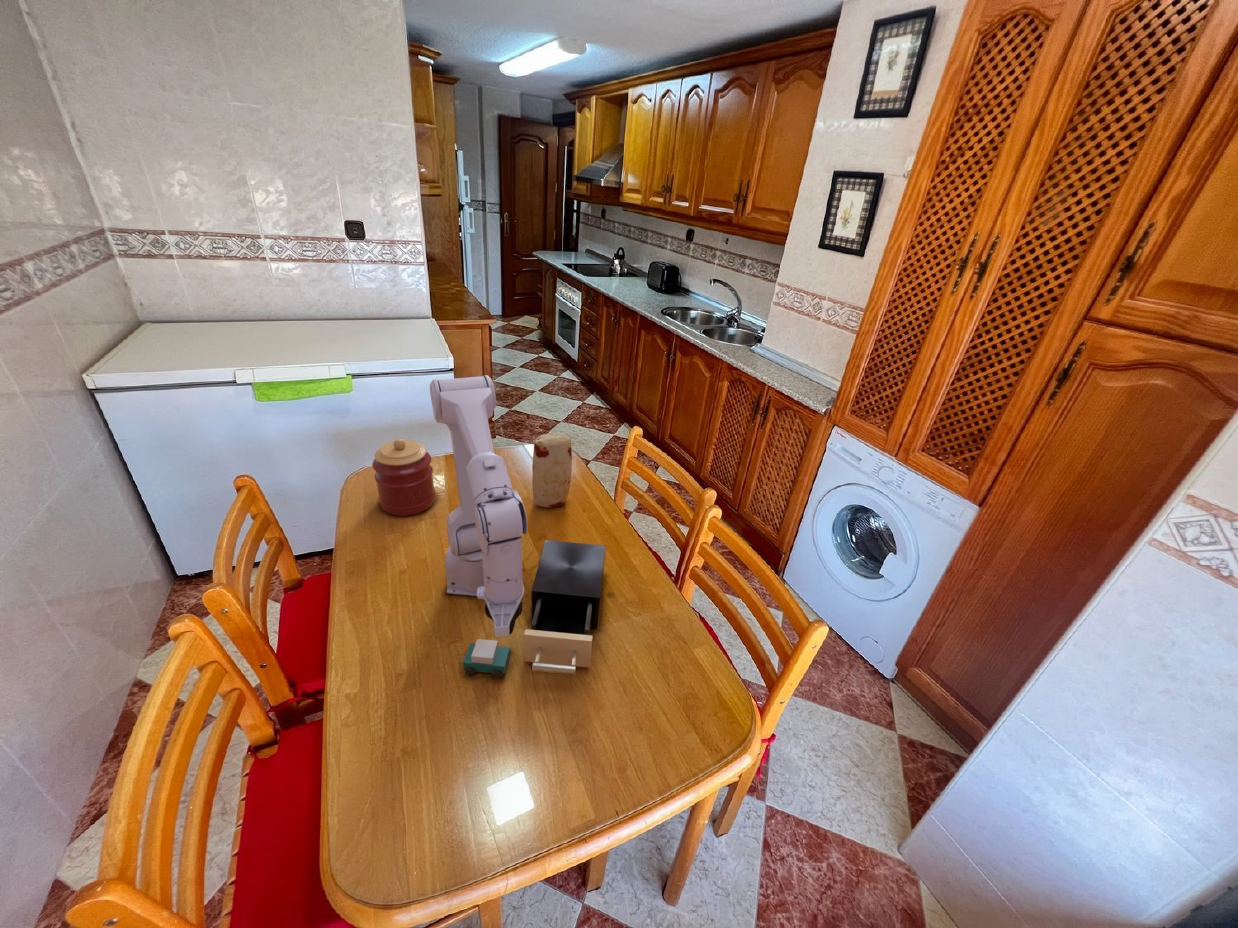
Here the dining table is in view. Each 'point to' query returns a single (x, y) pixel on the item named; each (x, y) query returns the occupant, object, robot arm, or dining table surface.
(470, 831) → the dining table surface
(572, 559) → the black cabinet
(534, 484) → the food model
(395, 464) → the kitchen canister
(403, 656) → the dining table surface
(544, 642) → the drawer
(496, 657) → the toy car
